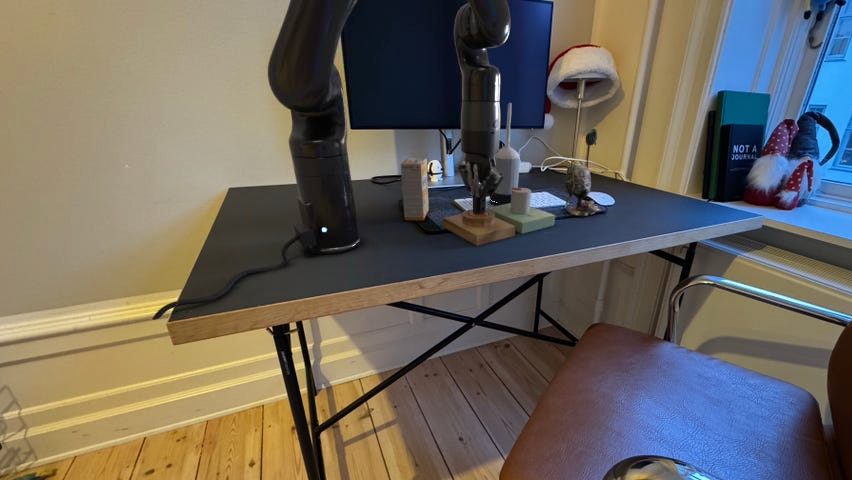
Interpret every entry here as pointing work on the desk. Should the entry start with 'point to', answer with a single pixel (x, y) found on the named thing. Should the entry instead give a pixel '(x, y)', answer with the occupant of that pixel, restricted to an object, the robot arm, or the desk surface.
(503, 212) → the green base plate
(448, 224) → the lamp base
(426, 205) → the supplement box
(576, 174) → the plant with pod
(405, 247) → the desk surface
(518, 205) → the dimmer knob
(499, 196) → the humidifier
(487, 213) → the light button
